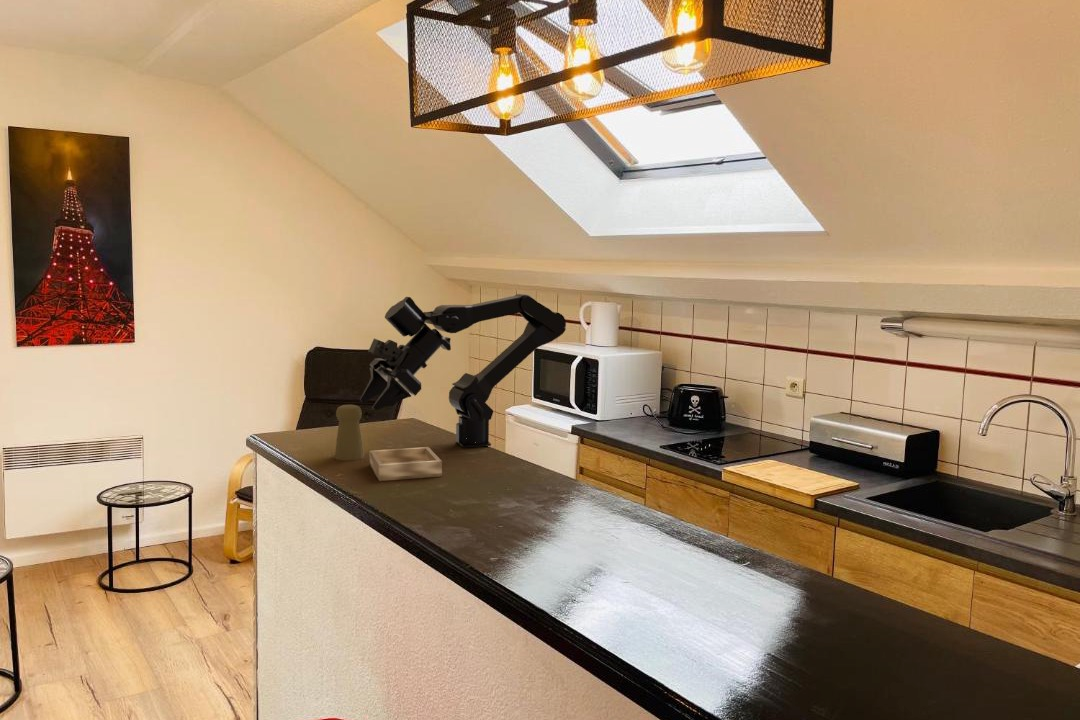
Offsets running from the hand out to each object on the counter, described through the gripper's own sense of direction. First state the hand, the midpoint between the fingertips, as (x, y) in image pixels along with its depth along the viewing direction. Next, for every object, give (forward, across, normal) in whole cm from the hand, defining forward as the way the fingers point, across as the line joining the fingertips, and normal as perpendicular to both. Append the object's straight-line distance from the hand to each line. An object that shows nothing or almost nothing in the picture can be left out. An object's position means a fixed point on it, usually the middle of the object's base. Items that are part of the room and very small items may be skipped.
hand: (367, 405), depth 176 cm
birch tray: (+5, +15, +10) cm, 19 cm away
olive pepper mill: (+10, 0, +5) cm, 12 cm away
